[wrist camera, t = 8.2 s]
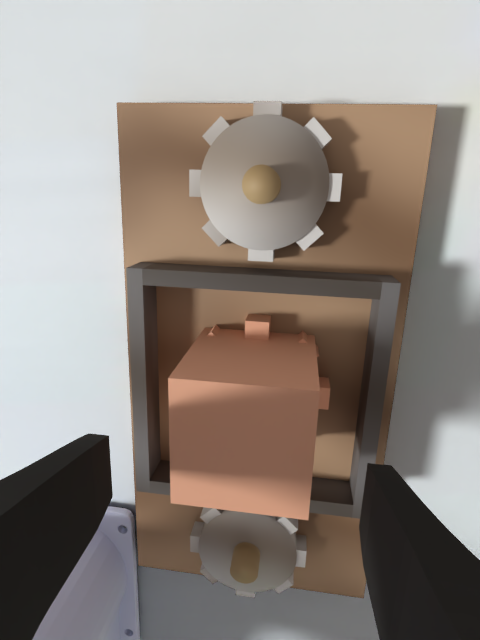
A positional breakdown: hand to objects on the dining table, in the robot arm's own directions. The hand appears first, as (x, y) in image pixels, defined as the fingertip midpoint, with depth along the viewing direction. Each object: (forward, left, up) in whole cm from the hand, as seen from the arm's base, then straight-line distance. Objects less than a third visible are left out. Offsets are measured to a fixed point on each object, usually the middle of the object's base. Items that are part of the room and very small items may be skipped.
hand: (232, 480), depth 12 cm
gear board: (0, 0, -7) cm, 7 cm away
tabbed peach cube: (0, 0, -6) cm, 6 cm away
